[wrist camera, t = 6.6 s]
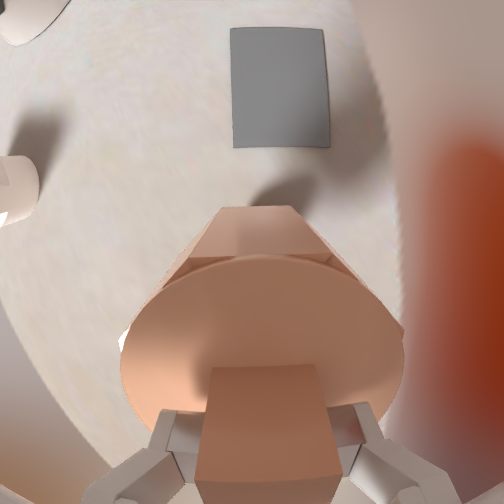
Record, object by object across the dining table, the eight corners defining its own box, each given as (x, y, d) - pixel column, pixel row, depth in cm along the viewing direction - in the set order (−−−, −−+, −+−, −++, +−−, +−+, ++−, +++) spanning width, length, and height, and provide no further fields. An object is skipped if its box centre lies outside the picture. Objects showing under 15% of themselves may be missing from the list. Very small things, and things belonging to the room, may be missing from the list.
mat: (230, 30, 26) (230, 28, 25) (320, 31, 25) (321, 29, 25) (233, 148, 30) (233, 147, 29) (329, 147, 29) (330, 147, 29)
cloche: (174, 209, 17) (-3, 336, 4) (337, 204, 17) (525, 316, 4) (191, 347, 20) (139, 535, 6) (328, 342, 20) (393, 526, 6)
